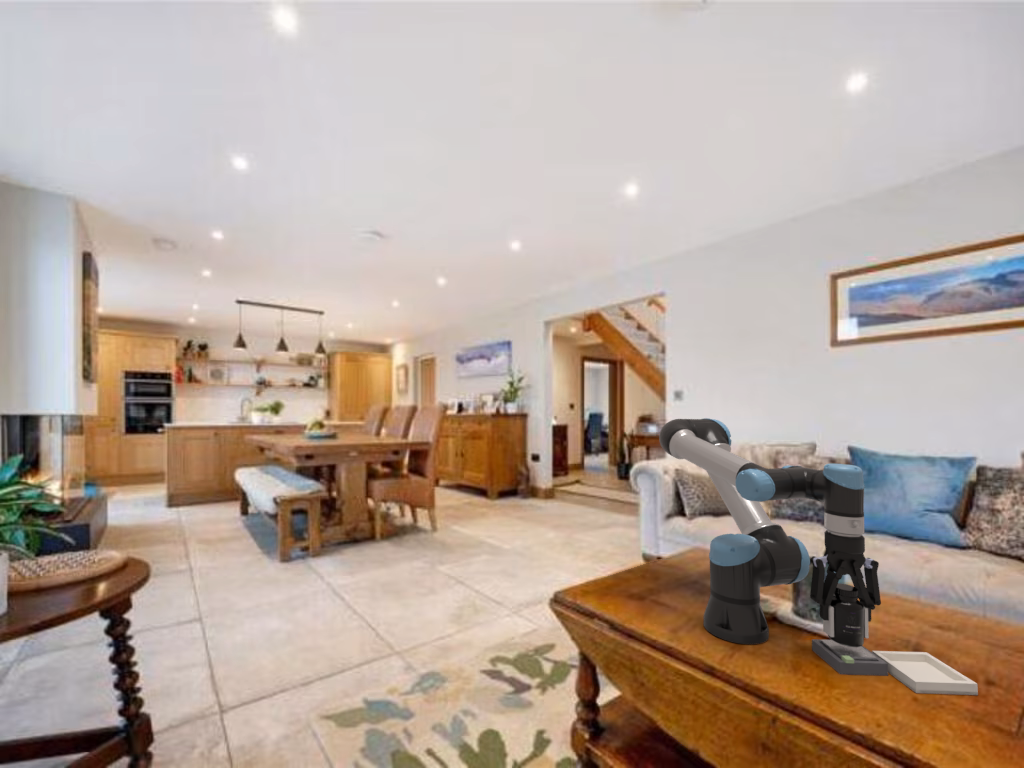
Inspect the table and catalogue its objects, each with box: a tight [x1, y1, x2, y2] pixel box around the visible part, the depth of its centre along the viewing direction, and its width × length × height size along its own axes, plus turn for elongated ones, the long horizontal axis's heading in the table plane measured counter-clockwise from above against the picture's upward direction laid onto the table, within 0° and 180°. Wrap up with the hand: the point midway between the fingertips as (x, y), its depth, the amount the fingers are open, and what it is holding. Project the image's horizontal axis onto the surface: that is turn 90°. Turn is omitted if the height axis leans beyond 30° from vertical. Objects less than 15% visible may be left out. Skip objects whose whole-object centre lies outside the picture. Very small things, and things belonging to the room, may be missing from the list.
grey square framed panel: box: [811, 638, 889, 677], centre depth 104 cm, size 10×10×3 cm
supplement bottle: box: [826, 582, 865, 647], centre depth 105 cm, size 7×7×12 cm
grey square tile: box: [821, 639, 877, 661], centre depth 105 cm, size 7×7×1 cm
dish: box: [871, 650, 979, 696], centre depth 99 cm, size 12×12×2 cm
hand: (845, 634), depth 105 cm, fingers closed on supplement bottle, 7 cm apart
